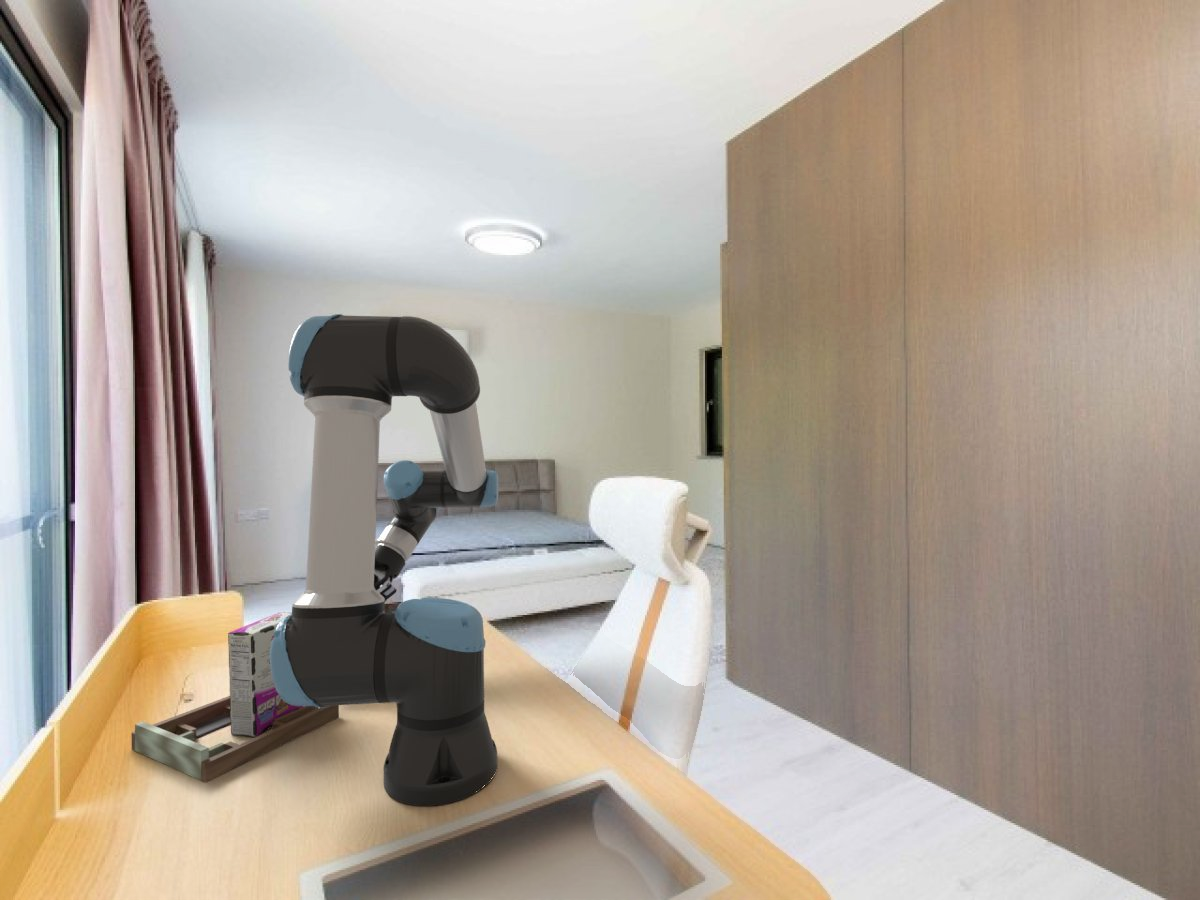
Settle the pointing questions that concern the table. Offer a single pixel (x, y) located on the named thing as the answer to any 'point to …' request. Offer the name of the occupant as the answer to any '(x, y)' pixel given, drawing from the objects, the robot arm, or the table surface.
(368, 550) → the robot arm
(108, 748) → the table surface
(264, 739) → the grey-brown low tray piece
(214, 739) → the table surface
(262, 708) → the candy bar box
